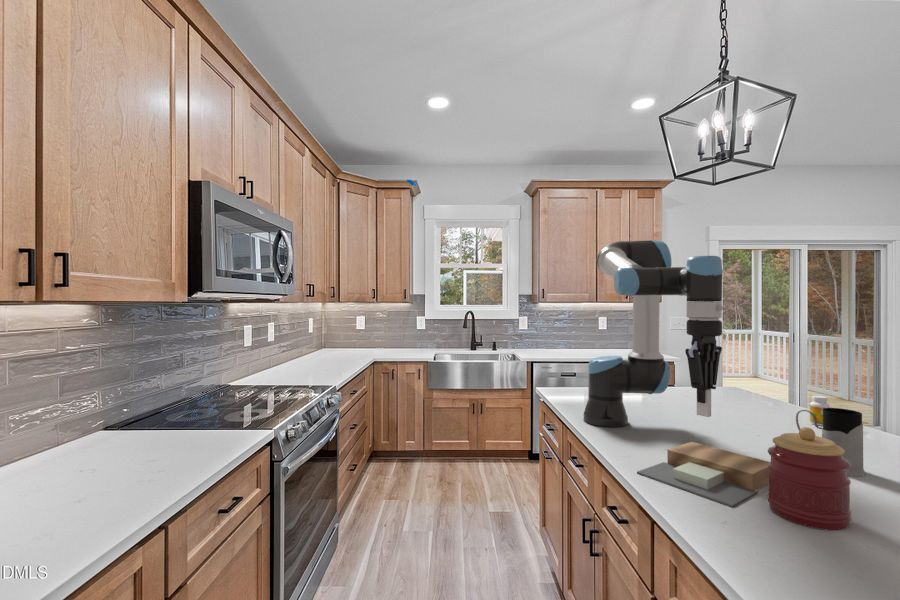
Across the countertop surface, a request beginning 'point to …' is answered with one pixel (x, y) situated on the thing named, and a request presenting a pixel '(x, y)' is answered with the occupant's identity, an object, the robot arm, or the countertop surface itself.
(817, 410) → the supplement bottle
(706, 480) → the coaster
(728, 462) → the plate
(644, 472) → the mat
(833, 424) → the glass holder
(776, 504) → the canister
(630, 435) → the countertop surface
